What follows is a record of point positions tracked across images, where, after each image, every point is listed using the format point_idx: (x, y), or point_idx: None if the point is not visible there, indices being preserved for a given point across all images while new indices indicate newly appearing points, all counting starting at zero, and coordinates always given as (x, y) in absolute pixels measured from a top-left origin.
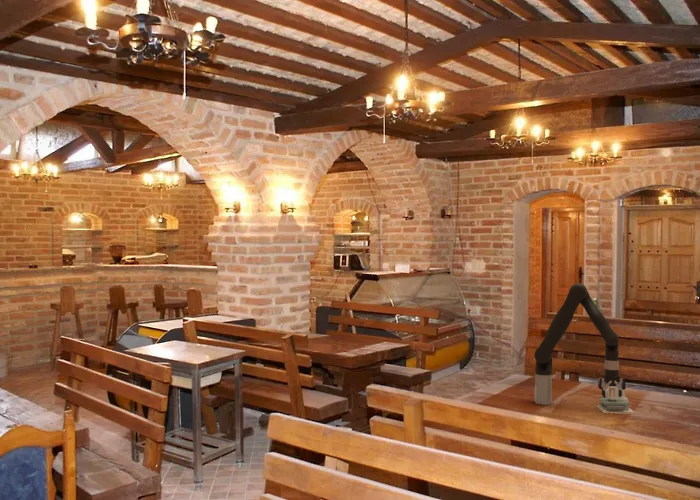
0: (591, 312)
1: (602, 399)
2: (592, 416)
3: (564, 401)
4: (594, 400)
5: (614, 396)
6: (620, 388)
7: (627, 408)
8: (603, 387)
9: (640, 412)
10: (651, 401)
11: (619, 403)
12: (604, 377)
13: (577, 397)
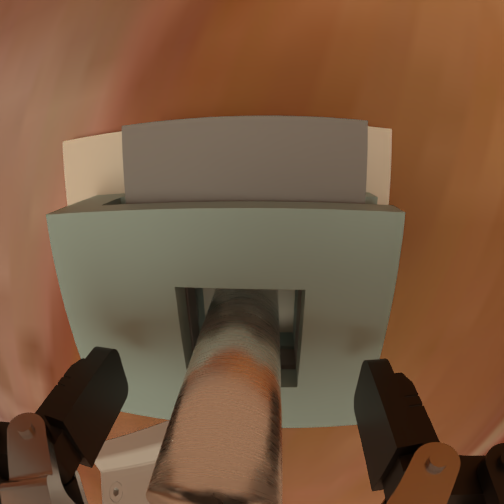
0: None
1: (353, 378)
2: (497, 54)
3: (477, 433)
4: (295, 479)
5: (194, 360)
6: (26, 449)
7: (97, 198)
8: (442, 502)
9: (26, 203)
10: (10, 417)
11: (163, 206)
12: None
13: (364, 499)
